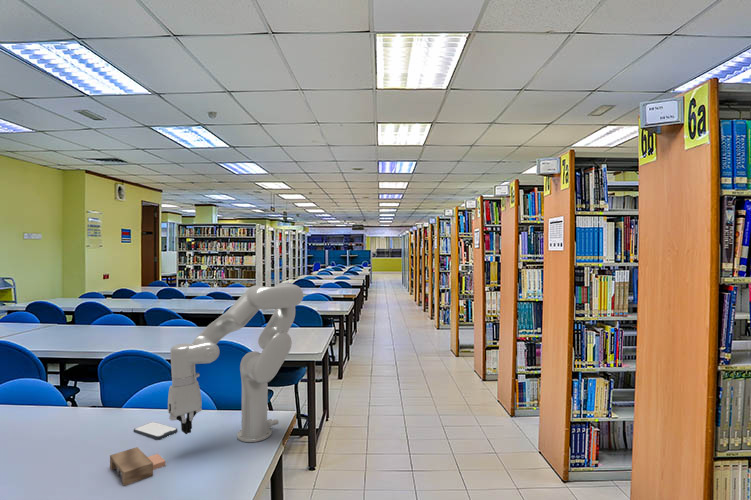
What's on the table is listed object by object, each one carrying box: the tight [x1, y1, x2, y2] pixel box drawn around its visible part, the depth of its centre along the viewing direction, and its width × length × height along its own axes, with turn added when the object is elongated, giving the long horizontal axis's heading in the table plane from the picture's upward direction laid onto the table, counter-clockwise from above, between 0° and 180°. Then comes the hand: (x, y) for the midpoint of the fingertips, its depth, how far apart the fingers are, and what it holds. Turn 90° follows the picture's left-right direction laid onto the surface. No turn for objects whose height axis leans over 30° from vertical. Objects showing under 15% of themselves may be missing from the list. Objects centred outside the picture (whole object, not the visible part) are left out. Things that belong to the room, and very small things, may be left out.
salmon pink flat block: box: [147, 453, 166, 471], centre depth 135 cm, size 11×7×2 cm, turn 136°
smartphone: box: [133, 421, 178, 441], centre depth 162 cm, size 9×2×16 cm
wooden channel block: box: [109, 447, 154, 487], centre depth 133 cm, size 8×15×4 cm, turn 46°
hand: (186, 432), depth 145 cm, fingers closed
